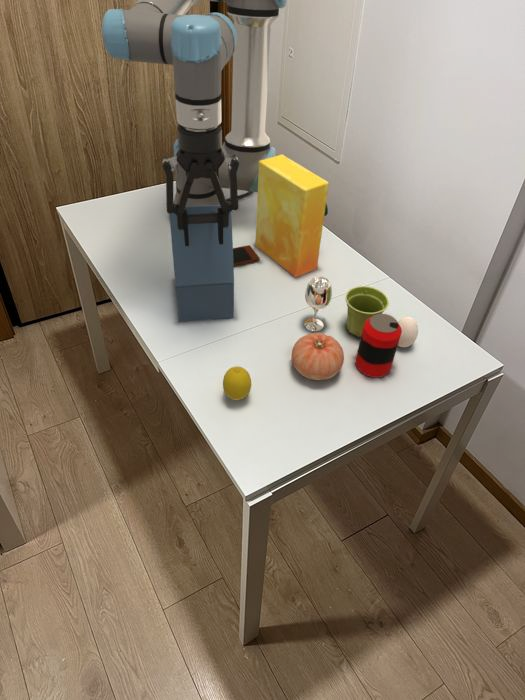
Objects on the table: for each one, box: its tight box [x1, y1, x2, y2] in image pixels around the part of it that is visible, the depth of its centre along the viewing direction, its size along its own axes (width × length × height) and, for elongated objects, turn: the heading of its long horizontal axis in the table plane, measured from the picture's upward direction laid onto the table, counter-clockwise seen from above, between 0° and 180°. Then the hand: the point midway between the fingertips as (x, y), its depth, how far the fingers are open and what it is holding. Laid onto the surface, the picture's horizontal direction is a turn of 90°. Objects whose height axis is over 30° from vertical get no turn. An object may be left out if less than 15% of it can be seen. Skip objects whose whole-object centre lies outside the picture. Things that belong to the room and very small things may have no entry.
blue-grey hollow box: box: [175, 282, 235, 323], centre depth 124 cm, size 16×13×10 cm
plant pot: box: [344, 285, 390, 338], centre depth 119 cm, size 9×9×9 cm
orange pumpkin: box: [290, 332, 345, 381], centre depth 109 cm, size 11×11×8 cm
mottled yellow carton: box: [255, 154, 330, 278], centre depth 134 cm, size 18×12×24 cm
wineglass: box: [303, 275, 333, 332], centre depth 118 cm, size 6×6×12 cm
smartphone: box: [233, 245, 261, 267], centre depth 139 cm, size 7×1×15 cm
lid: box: [168, 205, 235, 287], centre depth 108 cm, size 16×13×7 cm
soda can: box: [355, 313, 402, 378], centre depth 109 cm, size 8×8×12 cm
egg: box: [397, 316, 419, 348], centre depth 116 cm, size 5×5×8 cm
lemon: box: [222, 366, 252, 401], centre depth 103 cm, size 6×6×8 cm
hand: (203, 241), depth 106 cm, fingers closed on lid, 6 cm apart
